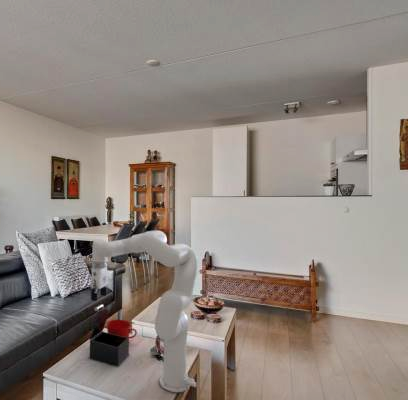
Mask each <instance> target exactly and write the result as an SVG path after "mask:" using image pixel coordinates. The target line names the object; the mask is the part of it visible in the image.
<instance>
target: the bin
mask: <svg viewBox="0 0 408 400" xmlns="http://www.w3.org/2000/svg"><path fill="white" fill-rule="evenodd" d="M129 354H130V338H127V337H123V336H119V335H115V334H111V333H108V332H107V331H106V332H105V331H102V332H101V333H99V334H98V335H97V336H95V337H94V338H93V339H91V340H89V359H90V360H93V361H96V362H100V363H103V364H107V365H110V366H113V367H117V368H118V367H120V366H121V364H122V363H123V362H124V361H125V360H126V359H127V358H128V356H129Z"/></svg>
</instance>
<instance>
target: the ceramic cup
mask: <svg viewBox="0 0 408 400" xmlns="http://www.w3.org/2000/svg"><path fill="white" fill-rule="evenodd" d="M131 325H132V324H131V323H130V321H127V320H124V319H112V320H109V321H108V322H107V324H106V328H107V329H106V330H107V331H106V332H107V333H111V334H115V335H119V336H123V337H127V338H129V339H133V338H135V337H136V336H137V333H138V332H137V330H136V328H131ZM131 331H134V335H131V334H130V333H131ZM130 335H131V336H130Z"/></svg>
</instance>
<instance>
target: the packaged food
mask: <svg viewBox="0 0 408 400" xmlns="http://www.w3.org/2000/svg"><path fill="white" fill-rule="evenodd" d="M149 354H150V355H154V356H156V357H159V358H161V357H160V356H157V355H158V352H157V349H156V345H153V347H151V348H150V350H149ZM162 358H163V359H164V357H162Z"/></svg>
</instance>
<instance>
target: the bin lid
mask: <svg viewBox="0 0 408 400" xmlns="http://www.w3.org/2000/svg"><path fill="white" fill-rule="evenodd" d="M112 305H113V303H112V302H110V303H109V304H107V305H105V306H104V304H102V303H101V304H99V305H97V306H95V307H94V308H93V309H94V311H95V312H98V313H97V315H96V319H95V321H94V325H93V327H92V330H91V333H90V336H89V341H90V340H92V339H93V338H94V337H96V336H97V335H98V334H99V333H101V332H104V328H105V326H106V322H107V320H108V317H109V313H110V311H111V308H112Z"/></svg>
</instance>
